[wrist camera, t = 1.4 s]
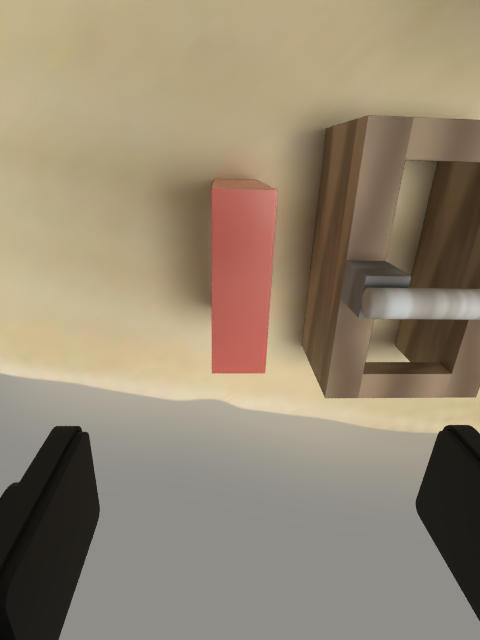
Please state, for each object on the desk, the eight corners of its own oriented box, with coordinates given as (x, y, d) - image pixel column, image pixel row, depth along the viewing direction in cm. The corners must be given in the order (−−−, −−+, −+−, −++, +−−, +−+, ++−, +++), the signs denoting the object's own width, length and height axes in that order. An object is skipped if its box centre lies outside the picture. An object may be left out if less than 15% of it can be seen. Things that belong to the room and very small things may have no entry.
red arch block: (257, 180, 34) (277, 190, 22) (251, 308, 39) (265, 373, 27) (214, 178, 33) (211, 188, 22) (214, 308, 39) (211, 373, 27)
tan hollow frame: (475, 134, 33) (679, 112, 18) (420, 345, 42) (527, 444, 27) (326, 128, 32) (414, 100, 18) (301, 345, 41) (347, 447, 26)
